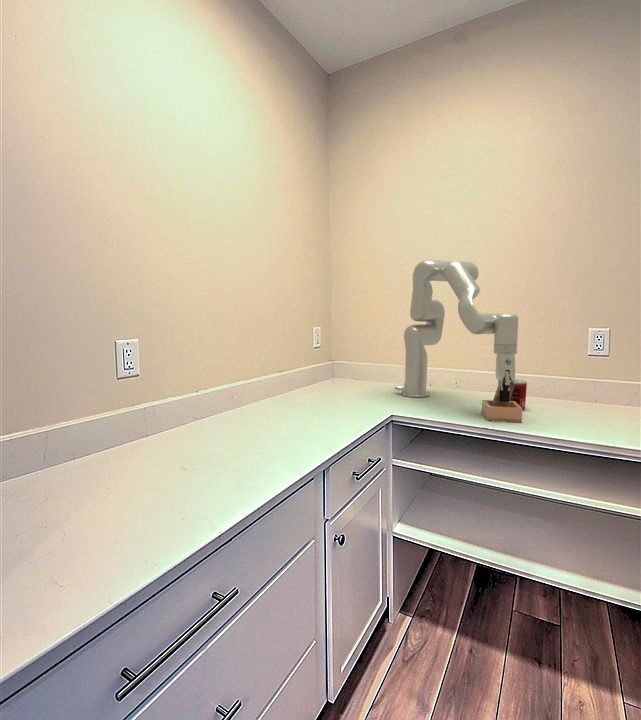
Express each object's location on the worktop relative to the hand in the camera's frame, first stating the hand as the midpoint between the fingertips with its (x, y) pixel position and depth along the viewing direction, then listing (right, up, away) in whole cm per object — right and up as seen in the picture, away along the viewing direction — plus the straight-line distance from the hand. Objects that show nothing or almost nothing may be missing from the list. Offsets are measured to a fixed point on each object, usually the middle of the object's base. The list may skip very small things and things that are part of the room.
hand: (503, 400), depth 151 cm
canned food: (+11, -5, +15) cm, 19 cm away
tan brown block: (-2, -5, +1) cm, 5 cm away
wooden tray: (0, -6, +1) cm, 7 cm away
